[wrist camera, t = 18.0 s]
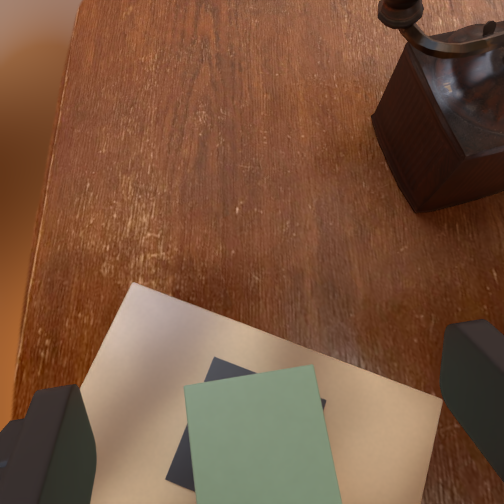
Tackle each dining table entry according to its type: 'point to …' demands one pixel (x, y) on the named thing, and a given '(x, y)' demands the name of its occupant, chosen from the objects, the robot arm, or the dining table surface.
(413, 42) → the coffee grinder
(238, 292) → the dining table surface
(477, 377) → the robot arm
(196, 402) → the green carton
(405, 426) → the shelf
